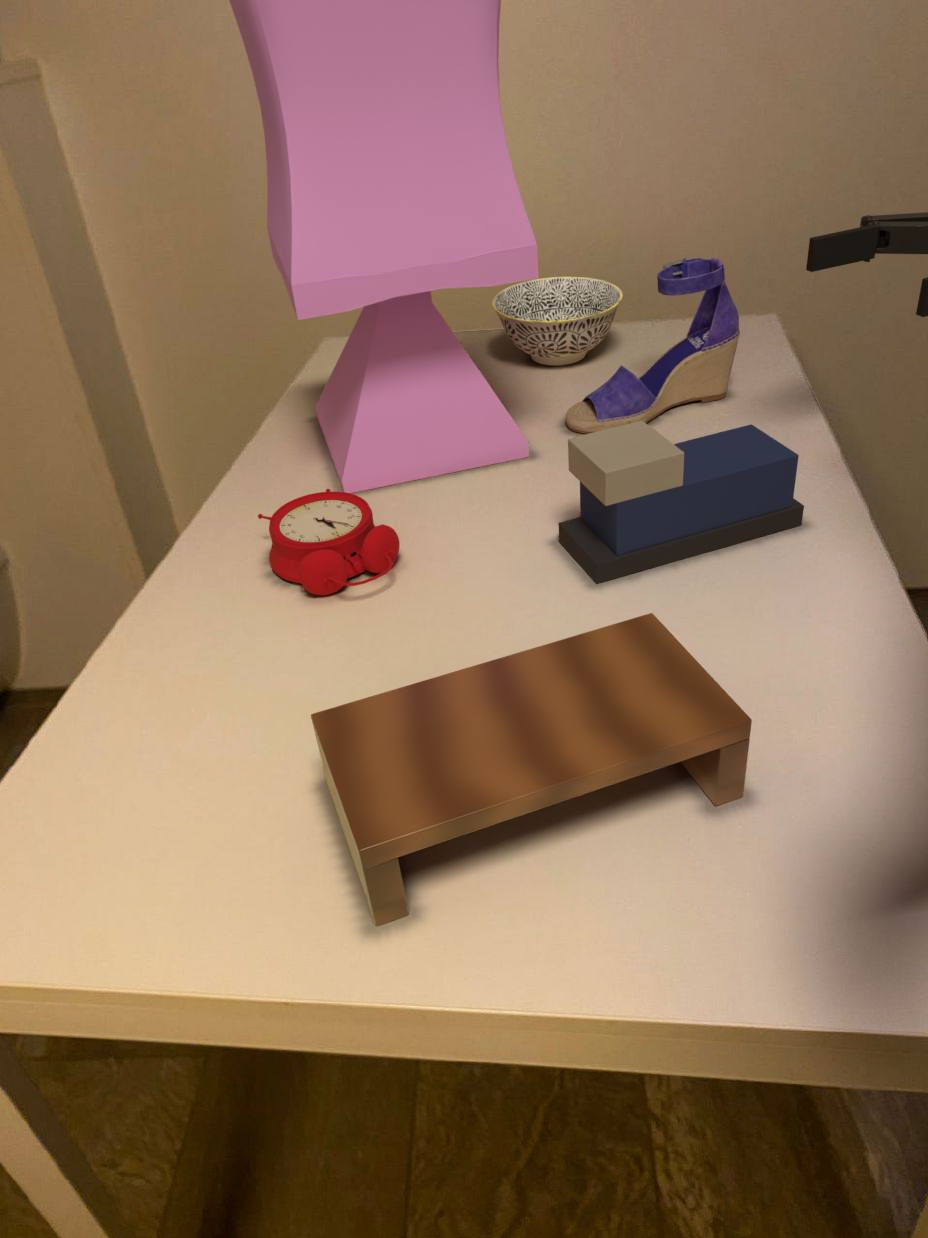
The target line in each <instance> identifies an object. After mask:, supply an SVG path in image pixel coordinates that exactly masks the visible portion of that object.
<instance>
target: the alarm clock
mask: <svg viewBox="0 0 928 1238" xmlns="http://www.w3.org/2000/svg"><path fill="white" fill-rule="evenodd" d="M257 518H258V519H259V520H261V519H264V520H268V521H269V526H268V532H269V535H270V539H271V548H270V550H269V554H268V560H269V565H270V568H271V569H272V571H273V572H274V573H275V574H276V575H277V576H278V577H280V578H282V579H284V580H286V581H289V582H293V583H296V584H300V585H302V587H303V588H304V590H305V591H307V592H308V593H310V594H311V595H316V596H328V595H332V594H335V593H337V592H338V591H340V590H341V589H342V588H343V587H344V586H346V587H353V586H354V587H355V586H360V585H364V584H368V583H369V582H372V581H376V580H377V579H379V578H381V577H383V576H385V575H386V574H387V573H389V572H390V571H391V570H392V569H393V567H394V566H393V565H394V564H395V562H396V560H397V558H398V556H399V554H400V553H399V552H400V538H399V535H398V534H397V532H396V530H395V529H394V528H393V527H391V526H389V525H386V524H384V523H383V524H380V525H375V524H374V515H373V510H372V508H371V506H370V505H369V503H368V501H366V500H365V499H364V498H363V497H360V496H358V495H356V494H354V493H345V492H344V491H331V489H330V488H326V489H325V491H321V492H314V493H310V494H309V493H308V494H306V495H301V496H300V497H296V498H294V499H292V500H289V501H288V502H285V503H284V504H283V505H281V506H280V507H279V508H278V509H276V510H275V511H274V512H273V514H272V515H271V516H267V515H263V514H262V513H258V514H257ZM365 571H368V572H370V573H375V574H376V575H375V576H372V577H369V578H366V579H364V580H360V581H355V582H347V581H348V580H349V579H350V578H352V577H353V578H354V577H356V576H358V575H359V574H362V573H363V572H365Z"/></svg>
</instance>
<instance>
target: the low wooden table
mask: <svg viewBox="0 0 928 1238" xmlns="http://www.w3.org/2000/svg"><path fill="white" fill-rule="evenodd" d="M310 718H311V723H312V726H313V727H312V728H313V730H314V735H315V739H316V743H317V747H318V752H319V756H320V760H321V763H322V768H323V772H324V777H325V781H326V784H327V787H328V791H329V794H330V797H331V800H332V802H333V806H334V808H335V811H336V814H337V818H338V820H339V823H340V826H341V828H342V832H343V835H344V837H345V841H346V843H347V846H348V849H349V852H350V855H351V859H352V860H353V861H352V862H353V864H354V866H355V867H354V868H355V869H356V872H357V877H358V879H359V881H360V884H361V887H362V890H363V893H364V896H365V899H366V902H367V905H368V908H369V911H370V913H371V916H372V920H373V923H374V925H375V926H376V927H379V926H381V925H384V924H387V923H389V922H390V923H391V922H392V921H395V920H397V919H401V918H405V917H407V916H409V913H410V911H409V907H408V902H407V897H406V891H405V887H404V881H403V876H402V872H401V867H400V861H399V858H400V857H403V856H405V855H408V854H409V855H410V854H412V853H415V852H417V851H421V850H423V849H427V848H429V847H433V846H435V845H438V844H441V843H444V842H448V841H450V840H452V839H453V840H454V839H457V838H459V837H461V836H464V835H468V834H471V833H474V832H476V831H480V830H483V829H486V828H488V827H491V826H494V825H497V824H500V823H503V822H506V821H509V820H512V819H515V818H518V817H521V816H524V815H526V814H529V813H532V812H536V811H539V810H541V809H545V808H547V807H551V806H552V805H556V804H559V803H562V802H565V801H568V800H571V799H574V798H577V797H580V796H583V795H585V794H589V793H592V792H595V791H598V790H600V789H604V788H606V787H609V786H612V785H616V784H618V783H621V782H624V781H627V780H630V779H634V778H636V777H639V776H641V775H644V774H647V773H651V772H654V771H656V770H660V769H662V768H666V767H668V766H671V765H674V764H677V763H680V764H681V765H682V766H683V768H684V769H685V770H686V771H687V772H688V773H689V775H690V776H691V777H692V779H693V780H694V781H695V782H696V784H697V785H698V786H699V787H700V789H701V790H702V791H703V792H704V794H705V795H706V796H707V797H708V799H709V800H710V801H711V803H712V804H713V805H714V806H715V807H718V806H721V805H724V804H726V803H729V802H732V801H735V800H737V799H741V798H743V797H744V791H745V784H746V783H745V781H746V776H747V775H746V774H747V765H748V757H749V749H750V741H751V731H752V722H753V720H752V718H751V717H750V716H749V715H748V714H747V713H746V712H745V711H744V709H743V708H742V707H741V706H740V705H739V704H738V703H737V702H736V701H735V699H733V698H732V697H731V696H730V694H728V693H727V692H726V690H725V689H724V688H723V687H722V686H721V685H720V684H719V683H718V682H717V681H716V680H715V678H713V676H712V675H711V674H710V673H709V672H708V671H707V670H706V669H705V668H704V667H703V666H702V665H701V664H700V663H699V662H698V660H697V659H696V658H695V657H694V656H693V655H692V654H691V652H689V651H688V650H687V648H686V647H685V646H684V645H683V644H682V643H681V642H680V641H679V640H678V639H677V638H676V637H675V635H673V634H672V633H671V631H670V630H669V629H668V628H667V627H666V626H665V625H664V624H663V623H662V622H661V620H659V619H658V618H657V616H656V615H655V614H654V613H652V612H650V613H646V614H643V615H640V616H636V617H633V618H630V619H627V620H623V621H620V622H616V623H614V624H610V625H607V626H603V627H599V628H596V629H593V630H589V631H586V632H583V633H579V634H576V635H573V636H570V637H569V636H568V637H566V638H563V639H559V640H556V641H553V642H549V643H546V644H542V645H539V646H535V647H532V648H529V649H525V650H523V651H519V652H515V653H513V654H509V655H505V656H502V657H499V658H496V659H492V660H489V661H485V662H481V663H478V664H476V665H472V666H468V667H465V668H462V669H458V670H455V671H452V672H449V673H446V674H441V675H439V676H435V677H432V678H428V679H425V680H421V681H418V682H415V683H411V684H408V685H405V686H401V687H398V688H395V689H391V690H387V691H385V692H381V693H378V694H374V695H371V696H367V697H365V698H361V699H357V700H353V701H350V702H347V703H344V704H341V705H337V706H334V707H331V708H328V709H327V708H326V709H324V710H321V711H317V712H314V713H311V714H310Z"/></svg>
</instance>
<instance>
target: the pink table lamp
mask: <svg viewBox="0 0 928 1238" xmlns="http://www.w3.org/2000/svg"><path fill="white" fill-rule="evenodd" d="M228 1H229V4H230V7H231V9H232V12H233V15H234V18H235V21H236V24H237V27H238V30H239V34H240V36H241V39H242V43H243V47H244V49H245V52H246V56H247V59H248V62H249V66H250V69H251V73H252V77H253V82H254V86H255V90H256V94H257V98H258V102H259V103H258V104H259V108H260V115H261V121H262V128H263V136H264V146H265V158H266V159H265V160H266V180H267V181H266V183H267V184H266V185H267V194H266V196H267V200H266V201H267V202H266V203H267V205H266V206H267V208H266V228H267V229H266V230H267V234H268V240H269V244H270V248H271V249H270V250H271V255H272V257H273V260H274V262H275V265H276V267H277V269H278V271H279V273H280V275H281V278H282V280H283V282H284V285H285V288H286V291H287V294H288V297H289V300H290V303H291V305H292V309H293V311H294V314H295V316H296V319H297V321H301V320H307V319H311V318H312V319H313V318H319V317H325V316H329V315H336V314H341V313H346V312H351V311H354V310H357V309H361V308H362V310H361V312H360V314H359V316H358V318H357V320H356V322H355V324H354V326H353V328H352V330H351V332H350V334H349V335H348V336H349V337H348V339H347V341H346V342H345V345H344V347H343V349H342V350H341V353H340V355H339V356H338V359H337V361H336V363H335V365H334V367H333V370H332V372H331V374H330V376H329V378H328V380H327V382H326V384H325V386H324V388H323V390H322V392H321V395H320V396H319V398H318V400H317V403H316V404H315V409H316V414H317V420H318V423H319V425H320V428H321V431H322V434H323V437H324V440H325V442H326V445H327V449H328V451H329V454H330V456H331V460H332V462H333V466H334V468H335V471H336V474H337V476H338V479H339V482H340V485H341V488H342V490H343V491H342V492H345V493H350V494H354V493H359V492H364V491H368V490H373V489H378V488H383V487H388V486H393V485H398V484H404V483H407V482H412V481H417V480H422V479H427V478H432V477H436V476H441V475H446V474H451V473H456V472H462V471H466V470H467V471H468V470H470V469H471V470H472V469H477V468H481V467H485V466H486V467H487V466H491V465H496V464H501V463H506V462H510V461H515V460H520V459H525V458H529V457H530V445H529V443H530V442H529V440H528V439H527V438H526V436H525V434H524V433H523V432H522V430H521V429H520V428H519V426H518V425H517V423H516V421H515V420H514V418H513V417H512V415H511V414H510V413H509V412H508V410H507V408H506V407H505V405H504V404H503V403H502V401H501V400H500V398H499V397H498V396H497V394H496V392H495V391H494V389H493V388H492V387H491V385H490V384H489V383H488V381H487V380H486V378H485V376H484V375H483V374H482V372H481V370H480V369H479V368H478V367H477V365H476V364H475V362H474V361H473V359H472V358H471V356H470V355H469V354H468V352H467V351H466V349H465V347H463V345H462V343H461V342H460V341H459V339H458V338H457V335H456V334H455V333H454V332H453V330H452V329H451V327H450V326H449V324H448V323H447V321H446V320H445V319H444V317H443V315H442V314H441V313H440V311H439V310H438V308H437V307H436V305H435V304H434V303H433V297H432V291H438V290H445V289H462V288H463V289H465V288H488V287H489V288H490V287H496V286H502V285H508V284H514V283H521V282H526V281H530V280H535V279H540V278H539V253H538V242H537V240H536V237H535V234H534V230H533V229H532V225H531V223H530V219H529V217H528V213H527V211H526V210H527V209H526V207H525V205H524V201H523V198H522V195H521V192H520V189H519V185H518V182H517V179H516V176H515V175H516V174H515V172H514V167H513V163H512V159H511V154H510V151H509V147H508V143H507V137H506V132H505V125H504V120H503V114H502V113H503V112H502V107H501V106H502V105H501V95H500V93H501V92H500V72H499V70H500V69H499V50H500V48H499V47H500V21H501V20H500V19H501V8H502V7H501V6H502V0H228Z"/></svg>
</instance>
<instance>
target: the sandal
mask: <svg viewBox="0 0 928 1238" xmlns="http://www.w3.org/2000/svg"><path fill="white" fill-rule="evenodd" d="M724 266H725V265H724V264H723V262H722V260H720V259H718V258H716V257H711V259H707V258H701V257H697V258H696V257H695V258H690V259H687V258H686V257H684V258H682V259H679V260H674V261H670V262H667V263H666V262H665V263H664V264H663V265H662V270H660V271H659V272H658V273H657V277H656V278H657V279H656V280H657V292H658V293H659V294H661V295H663V296H670V297H674V296H676V297H677V296H684V295H692V294H696V293H700V292H704V293H703V296H702V297H701V300H700V302H699V305H698V307H697V309H696V312H695V314H694V317H693V319H692V322H691V324H690V326H689V328H688V332H687V334H686V337H684V338H683V339H680V341H678V342H677V343H674V345H672V346H671V347H669V348H668V349H667V350H666V351H665V352H664V353H663V354H662V355H660V356H659V358H657V359H656V360H655V362H653V364H651V365H650V366H649V368H648V369H646V370H645V371H644V372H643V373H642V374H641V375H640V376H639V377H638V376H637V375H636V374H634V372H632V371H630V370H629V369H628V368H626V367H625V366H624V365H620V366H619V367H618V368H617V370H616V371H615V372H614V374H613V375H612V376H611V377H610V378H609V379H608V380H607V381H605V383H603V384H602V385H600V386H599V387H598V388H597V389H595V390H593V391H591V392H590V393H589V394H587V395H586V396H585V397H584V398H583V399H582V400H581V401H579V402H577V403H575V404H574V405H572V406H571V407H570V408H568V409H567V411H566V413H565V421H566V426H567V428H568V429H569V430H570V431H572V432H576V433H579V434H585V435H586V434H590V433H594V432H598V431H602V430H606V429H610V428H614V427H618V426H622V425H626V424H630V423H634V422H638V421H644V422H645V423H646V424H647V423H648V422H650V421H652V420H653V419H655V418H656V417H658V416H659V415H661V414H662V413H664V412H665V411H666V410H668V409H671V408H672V407H673V408H674V407H676V406H679V405H682V404H686V403H690V402H695V401H699V402H701V403H707V402H708V403H709V402H714V401H719V400H722V399H724V398H726V396H727V390H728V386H729V382H730V377H731V373H732V369H733V364H734V361H735V356H736V352H737V348H738V343H739V339H740V335H741V332H740V317H739V312H738V308H737V307H736V304H735V302H734V301H733V297H732V296H731V293H730V291H729V288H728V286H727V284H726V274H725V273H726V272H725V267H724Z"/></svg>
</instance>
